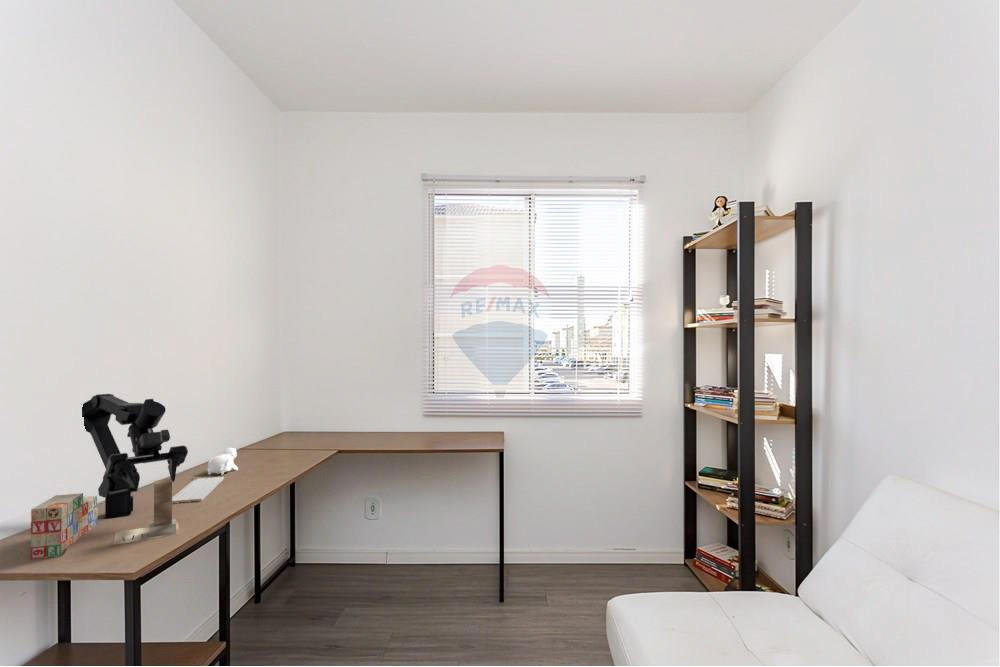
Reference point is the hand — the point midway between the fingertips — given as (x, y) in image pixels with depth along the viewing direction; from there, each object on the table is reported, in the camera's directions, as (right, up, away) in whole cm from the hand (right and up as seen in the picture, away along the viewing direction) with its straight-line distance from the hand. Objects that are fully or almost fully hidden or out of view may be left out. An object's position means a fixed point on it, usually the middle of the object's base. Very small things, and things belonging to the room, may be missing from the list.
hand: (154, 484), depth 148 cm
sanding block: (+5, -12, -5) cm, 14 cm away
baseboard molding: (-13, -15, +42) cm, 46 cm away
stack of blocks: (-18, -13, -8) cm, 23 cm away
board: (+1, -13, -5) cm, 14 cm away
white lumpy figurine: (-17, -15, +70) cm, 74 cm away
